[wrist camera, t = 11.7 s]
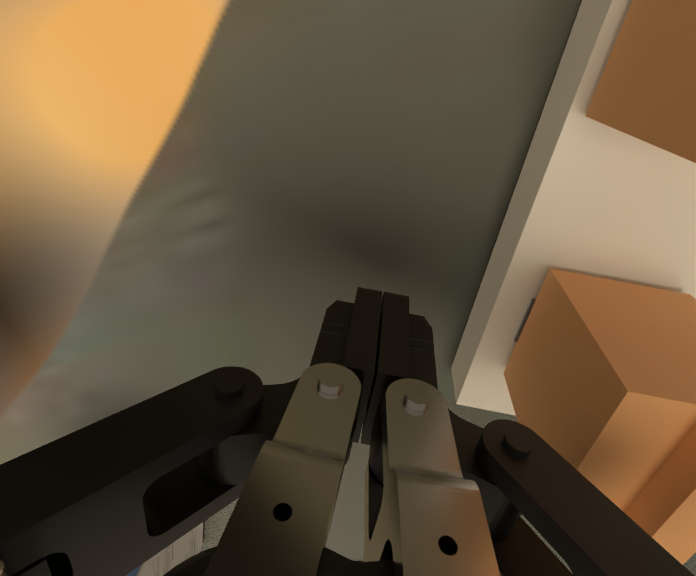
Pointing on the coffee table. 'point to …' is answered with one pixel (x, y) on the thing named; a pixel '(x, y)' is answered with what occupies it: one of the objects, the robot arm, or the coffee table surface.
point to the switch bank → (578, 213)
